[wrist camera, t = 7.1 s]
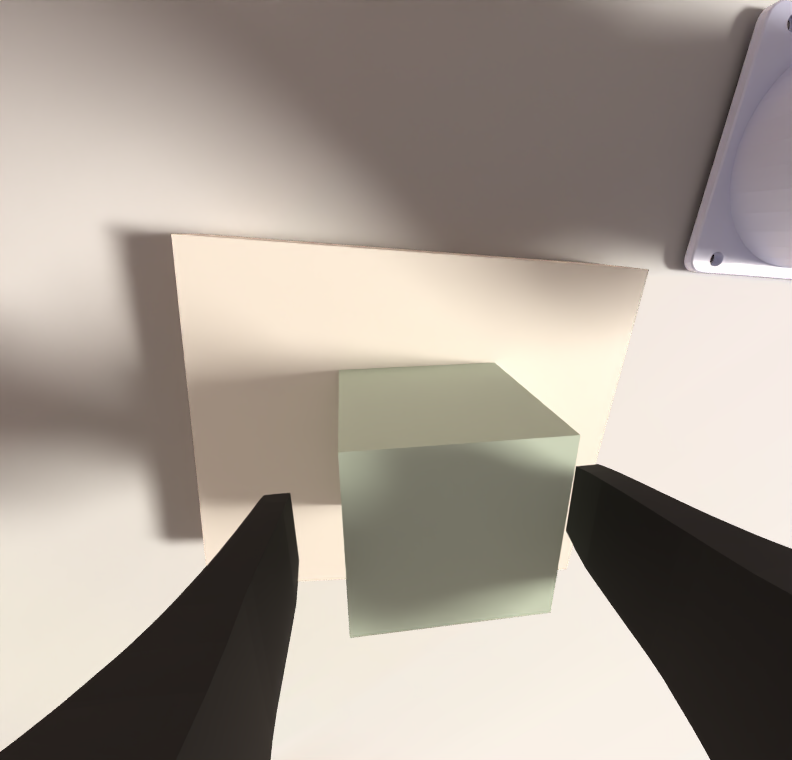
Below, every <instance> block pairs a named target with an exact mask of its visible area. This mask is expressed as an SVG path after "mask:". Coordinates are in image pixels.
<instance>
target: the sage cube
mask: <svg viewBox="0 0 792 760" xmlns="http://www.w3.org/2000/svg"><path fill="white" fill-rule="evenodd" d="M579 441H580V434H579V433H577V432H576V431H575V430H574V429H573V428H572V427H570V426H569V425H568V424H567V423H566V422H564V421H563V420H562V419H561V418H560V417H559V416H557V415H556V414H555V413H554V412H553V411H551V410H550V409H549V408H548V407H547V406H545V405H544V404H543V403H542V402H541V401H540V400H538V399H537V398H536V397H535V396H534V395H532V394H531V393H530V392H529V391H528V390H527V389H525V388H524V387H523V386H522V385H521V384H519V383H518V382H517V381H516V380H515V379H513V378H512V377H511V376H510V375H509V374H508V373H506V372H505V371H504V370H503V369H502V368H500V367H499V366H498V365H497V364H496V363H475V364H454V365H433V366H412V367H391V368H370V369H349V370H339V407H338V460H339V476H340V491H341V506H342V522H343V537H344V553H345V568H346V584H347V599H348V615H349V630H350V638H353V637H361V636H369V635H377V634H385V633H393V632H401V631H408V630H416V629H424V628H432V627H440V626H448V625H456V624H464V623H472V622H480V621H488V620H496V619H503V618H511V617H519V616H527V615H535V614H543V613H550V611H551V605H552V599H553V594H554V588H555V582H556V576H557V570H558V564H559V558H560V553H561V547H562V541H563V535H564V529H565V523H566V517H567V512H568V506H569V500H570V494H571V488H572V482H573V476H574V471H575V465H576V459H577V453H578V447H579Z"/></svg>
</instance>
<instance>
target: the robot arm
mask: <svg viewBox="0 0 792 760" xmlns="http://www.w3.org/2000/svg"><path fill="white" fill-rule="evenodd" d="M788 20H789V22H790V27H789V31H788V27H787V23H788ZM713 254H714V260H713V261H712V263H711V264H710V258H711V257H712V255H713ZM684 264H685V267H686V268H687V269H688V270H689V271H692V272H701V273H714V274H727V275H740V276H753V277H766V278H779V279H792V1H791V0H780V1H778V2H776V3H774V4H772V5H770V6H769V7H767V8H765V9H764V10H763V12H762V13H761V14H760V15H759V18H758V20H757V22H756V25H755V28H754V32H753V35H752V38H751V42H750V45H749V48H748V51H747V55H746V58H745V61H744V64H743V68H742V71H741V74H740V78H739V81H738V84H737V87H736V91H735V94H734V97H733V101H732V104H731V107H730V110H729V114H728V117H727V120H726V124H725V127H724V130H723V133H722V137H721V140H720V143H719V146H718V150H717V153H716V156H715V160H714V163H713V166H712V169H711V173H710V176H709V179H708V183H707V186H706V189H705V192H704V196H703V199H702V202H701V205H700V209H699V212H698V215H697V219H696V222H695V225H694V228H693V232H692V235H691V238H690V242H689V245H688V248H687V251H686V255H685V259H684ZM566 532H567V534H568V536H569V538H570V540H571V542H572V544H573V546H574V548H575V550H576V552H577V553H578V555H579V557H580V559H581V561H582V562H583V564H584V566H585V568H586V569H587V571H588V572H589V574H590V575H591V576H592V578H593V579H594V581H595V582H596V584H597V585H598V586H599V588H600V589H601V591H602V592H603V594H604V595H605V596H606V598H607V599H608V601H609V602H610V603H611V605H612V606H613V608H614V609H615V610H616V612H617V613H618V615H619V616H620V617H621V619H622V620H623V622H624V623H625V624H626V626H627V627H628V629H629V630H630V631H631V633H632V634H633V636H634V637H635V638H636V640H637V641H638V643H639V644H640V645H641V647H642V648H643V650H644V651H645V652H646V654H647V655H648V657H649V658H650V660H651V661H652V663H653V664H654V666H655V667H656V669H657V670H658V672H659V673H660V675H661V676H662V678H663V679H664V681H665V683H666V684H667V686H668V688H669V689H670V691H671V693H672V694H673V696H674V698H675V699H676V701H677V703H678V704H679V706H680V708H681V709H682V711H683V713H684V714H685V716H686V718H687V719H688V721H689V723H690V724H691V726H692V728H693V730H694V731H695V733H696V735H697V737H698V738H699V740H700V742H701V744H702V746H703V747H704V749H705V751H706V753H707V754H708V756H709V758H710V760H792V549H791V548H788V547H785V546H783V545H780V544H777V543H775V542H772V541H770V540H767V539H765V538H762V537H760V536H757V535H755V534H752V533H750V532H748V531H745V530H743V529H741V528H738V527H736V526H734V525H731V524H729V523H727V522H725V521H722V520H720V519H718V518H715V517H713V516H711V515H709V514H706V513H704V512H702V511H700V510H698V509H695V508H693V507H691V506H689V505H687V504H685V503H683V502H680V501H678V500H676V499H674V498H672V497H670V496H668V495H666V494H664V493H661V492H659V491H657V490H655V489H653V488H651V487H649V486H647V485H645V484H643V483H640V482H638V481H636V480H634V479H632V478H630V477H628V476H625V475H623V474H621V473H619V472H617V471H614V470H612V469H609V468H607V467H604V466H602V465H599V464H595V465H584V466H576V469H575V475H574V482H573V488H572V494H571V501H570V507H569V513H568V520H567V526H566ZM298 572H299V555H298V547H297V540H296V532H295V524H294V517H293V509H292V502H291V494H290V493H280V494H270V495H264V496H263V497H262V498H261V499H260V500H259V501H258V502H257V504H256V505H255V506H254V508H253V509H252V510H251V512H250V513H249V514H248V516H247V517H246V518H245V519H244V521H243V522H242V523H241V525H240V526H239V527H238V528H237V530H236V531H235V532H234V534H233V535H232V536H231V537H230V539H229V540H228V541H227V542H226V543H225V545H224V546H223V547H222V548H221V549H220V551H219V552H218V553H217V554H216V555H215V557H214V558H213V559H212V560H211V561H210V563H209V564H208V565H207V566H206V567H205V568H204V569H203V571H202V572H201V573H200V574H199V575H198V576H197V577H196V578H195V579H194V580H193V582H192V583H191V584H190V585H189V586H188V587H187V588H186V589H185V590H184V591H183V593H182V594H181V595H180V596H179V597H178V598H177V599H176V600H175V601H174V602H173V603H172V604H171V605H170V606H169V607H168V608H167V609H166V610H165V611H164V612H163V614H162V615H161V616H160V617H159V618H158V619H156V620H155V621H154V622H153V623H152V624H151V625H150V626H149V627H148V628H147V629H146V630H145V631H144V632H143V633H142V634H141V635H140V636H139V637H138V638H137V639H136V640H135V641H134V642H133V643H132V644H130V645H129V646H128V647H127V648H126V649H125V650H124V651H123V652H122V653H121V654H119V655H118V656H117V657H116V658H115V659H114V660H112V661H111V662H110V663H109V664H108V665H107V666H105V667H104V668H103V669H102V670H101V671H99V672H98V673H97V674H96V675H95V676H94V677H92V678H91V679H90V680H89V681H88V682H87V683H85V684H84V685H83V686H82V687H81V688H80V689H78V690H77V691H76V692H75V693H74V694H73V695H71V696H70V697H69V698H68V699H67V700H66V701H64V702H63V703H62V704H61V705H60V706H58V707H57V708H56V709H55V710H53V711H52V712H51V713H50V714H48V715H47V716H46V717H45V718H43V719H42V720H41V721H39V722H38V723H37V724H36V725H34V726H33V727H32V728H31V729H29V730H28V731H27V732H26V733H24V734H23V735H22V736H20V737H19V738H18V739H17V740H15V741H14V742H13V743H11V744H10V745H9V746H7V747H6V748H5V749H3V750H2V751H1V752H0V760H270V759H271V749H272V740H273V733H274V726H275V719H276V713H277V707H278V702H279V696H280V691H281V685H282V680H283V674H284V669H285V663H286V658H287V652H288V647H289V641H290V636H291V630H292V625H293V619H294V613H295V608H296V600H297V587H298Z"/></svg>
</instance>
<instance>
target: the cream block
mask: <svg viewBox="0 0 792 760" xmlns="http://www.w3.org/2000/svg"><path fill="white" fill-rule="evenodd" d="M171 237H172V247H173V256H174V266H175V275H176V285H177V294H178V304H179V313H180V323H181V332H182V342H183V351H184V361H185V370H186V380H187V390H188V399H189V409H190V418H191V428H192V437H193V447H194V456H195V466H196V475H197V485H198V494H199V504H200V513H201V523H202V532H203V542H204V551H205V561H206V566H207V565H208V564H209V563H210V561H211V560H212V559H213V558H214V557H215V555H216V554H217V553H218V552H219V551H220V549H221V548H222V547H223V546H224V545H225V543H226V542H227V541H228V540H229V539H230V537H231V536H232V535H233V534H234V532H235V531H236V530H237V528H238V527H239V526H240V525H241V523H242V522H243V521H244V519H245V518H246V517H247V516H248V514H249V513H250V512H251V510H252V509H253V508H254V506H255V505H256V504H257V502H258V501H259V500H260V499H261V498H262V497H263V496H264V495H270V494H280V493H290V494H291V502H292V509H293V517H294V524H295V532H296V540H297V547H298V555H299V572H298V581H317V580H340V579H346V568H345V553H344V537H343V522H342V506H341V491H340V476H339V460H338V407H339V370H349V369H370V368H391V367H412V366H433V365H454V364H475V363H496V364H497V365H498V366H499V367H500V368H502V369H503V370H504V371H505V372H506V373H508V374H509V375H510V376H511V377H512V378H513V379H515V380H516V381H517V382H518V383H519V384H521V385H522V386H523V387H524V388H525V389H527V390H528V391H529V392H530V393H531V394H532V395H534V396H535V397H536V398H537V399H538V400H540V401H541V402H542V403H543V404H544V405H545V406H547V407H548V408H549V409H550V410H551V411H553V412H554V413H555V414H556V415H557V416H559V417H560V418H561V419H562V420H563V421H564V422H566V423H567V424H568V425H569V426H570V427H572V428H573V429H574V430H575V431H576V432H577V433H579V434H580V441H579V447H578V453H577V459H576V465H575V469H576V466H584V465H595V464H596V460H597V457H598V453H599V449H600V446H601V442H602V438H603V435H604V431H605V427H606V424H607V420H608V417H609V413H610V409H611V406H612V402H613V398H614V395H615V391H616V387H617V384H618V380H619V377H620V373H621V369H622V366H623V362H624V358H625V355H626V351H627V347H628V344H629V340H630V337H631V333H632V329H633V326H634V322H635V318H636V315H637V311H638V307H639V304H640V300H641V297H642V293H643V289H644V286H645V282H646V278H647V275H648V271H649V270H648V269H639V268H631V267H622V266H614V265H605V264H593V263H580V262H567V261H553V260H540V259H527V258H514V257H500V256H487V255H474V254H460V253H447V252H434V251H421V250H407V249H394V248H381V247H368V246H354V245H341V244H328V243H314V242H301V241H288V240H275V239H261V238H248V237H235V236H222V235H208V234H171ZM574 475H575V471H574ZM573 482H574V476H573ZM573 482H572V488H573ZM572 488H571V494H572ZM571 494H570V500H569V506H568V512H567V517H566V523H565V529H564V535H563V541H562V547H561V553H560V558H559V564H558V570H565V569H567V566H568V562H569V558H570V555H571V551H572V547H573V544H572V542H571V540H570V538H569V536H568V534H567V532H566V526H567V520H568V513H569V507H570V501H571Z"/></svg>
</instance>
